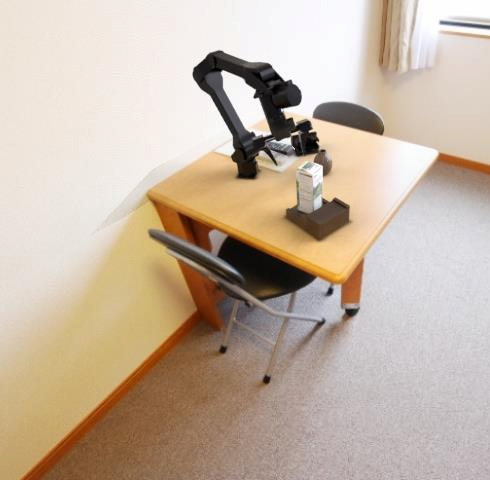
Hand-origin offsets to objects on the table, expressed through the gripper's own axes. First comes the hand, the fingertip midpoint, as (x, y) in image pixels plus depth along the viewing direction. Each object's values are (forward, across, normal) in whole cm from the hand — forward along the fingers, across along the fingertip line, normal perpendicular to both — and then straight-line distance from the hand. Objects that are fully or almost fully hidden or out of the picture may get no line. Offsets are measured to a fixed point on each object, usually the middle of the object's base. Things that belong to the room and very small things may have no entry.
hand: (290, 160), depth 110 cm
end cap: (+6, +8, +31) cm, 33 cm away
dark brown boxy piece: (+17, +1, -12) cm, 21 cm away
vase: (+12, +10, +14) cm, 21 cm away
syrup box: (+14, 0, -10) cm, 17 cm away
